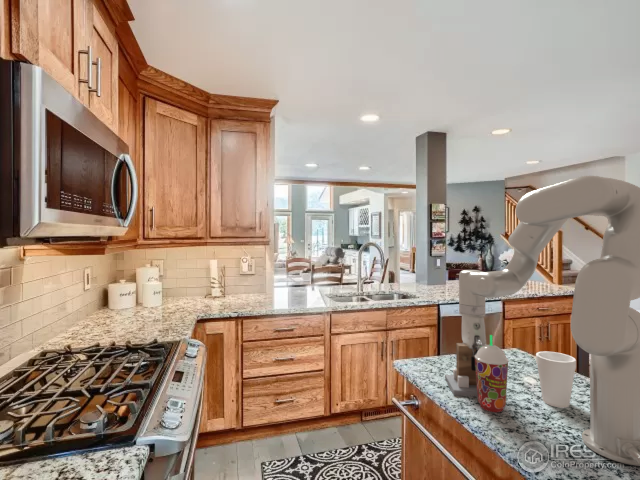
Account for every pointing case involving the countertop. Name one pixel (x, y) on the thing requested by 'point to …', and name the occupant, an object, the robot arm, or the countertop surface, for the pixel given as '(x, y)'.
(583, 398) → the countertop surface
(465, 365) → the door
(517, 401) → the countertop surface
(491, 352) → the smoothie
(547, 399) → the foam cup
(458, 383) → the hinge base
